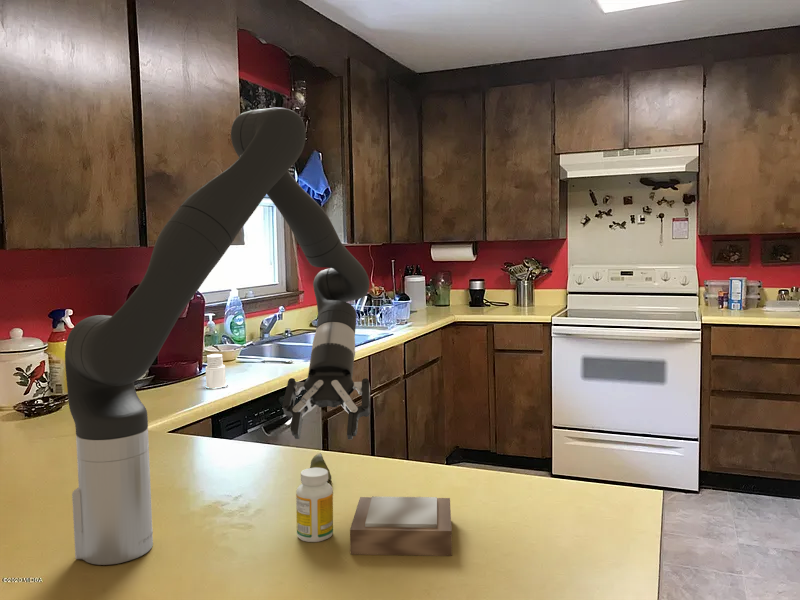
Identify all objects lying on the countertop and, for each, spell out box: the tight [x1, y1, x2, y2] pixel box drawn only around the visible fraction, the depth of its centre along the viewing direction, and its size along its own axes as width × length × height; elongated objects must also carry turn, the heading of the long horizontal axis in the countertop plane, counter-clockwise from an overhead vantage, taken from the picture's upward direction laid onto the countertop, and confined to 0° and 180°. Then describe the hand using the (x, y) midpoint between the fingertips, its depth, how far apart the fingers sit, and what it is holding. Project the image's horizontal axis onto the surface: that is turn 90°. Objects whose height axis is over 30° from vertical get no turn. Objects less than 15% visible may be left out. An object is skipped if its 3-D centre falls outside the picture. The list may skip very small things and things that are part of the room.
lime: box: [309, 452, 332, 482], centre depth 121 cm, size 4×5×5 cm
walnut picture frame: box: [349, 496, 453, 557], centre depth 97 cm, size 14×12×4 cm
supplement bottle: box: [295, 467, 334, 543], centre depth 98 cm, size 5×5×10 cm
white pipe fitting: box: [205, 353, 227, 388], centre depth 204 cm, size 8×7×10 cm
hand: (323, 437), depth 106 cm, fingers open, 8 cm apart
